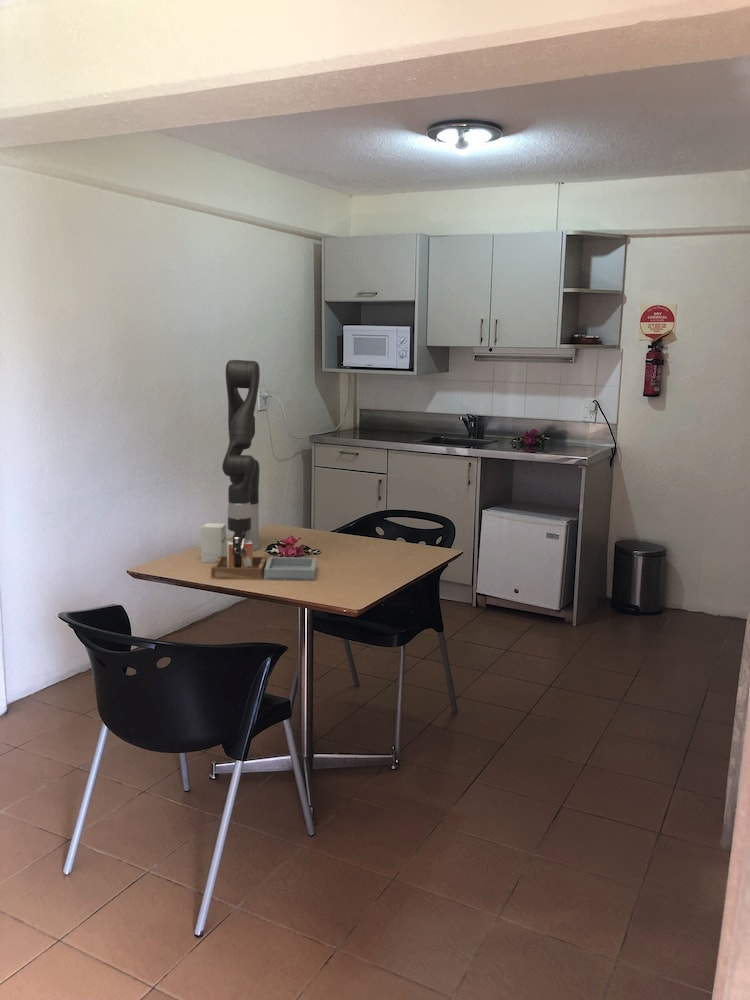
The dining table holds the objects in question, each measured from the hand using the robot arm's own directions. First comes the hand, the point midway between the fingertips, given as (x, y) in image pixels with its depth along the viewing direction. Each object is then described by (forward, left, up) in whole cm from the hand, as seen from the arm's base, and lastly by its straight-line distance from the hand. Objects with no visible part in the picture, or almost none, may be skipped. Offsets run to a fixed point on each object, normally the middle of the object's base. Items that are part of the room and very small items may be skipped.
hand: (239, 563), depth 273 cm
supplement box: (-16, -11, -3) cm, 20 cm away
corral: (0, 0, -3) cm, 3 cm away
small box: (0, 0, -3) cm, 3 cm away
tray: (0, +17, -3) cm, 17 cm away
